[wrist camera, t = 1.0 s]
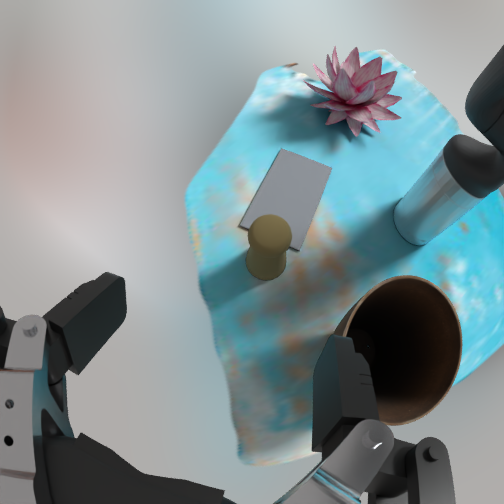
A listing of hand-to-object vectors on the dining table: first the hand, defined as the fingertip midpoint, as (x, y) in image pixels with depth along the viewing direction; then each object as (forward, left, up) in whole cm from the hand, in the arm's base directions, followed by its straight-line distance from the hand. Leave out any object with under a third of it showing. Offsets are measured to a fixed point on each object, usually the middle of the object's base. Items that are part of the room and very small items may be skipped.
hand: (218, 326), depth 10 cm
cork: (-12, -2, -29) cm, 32 cm away
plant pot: (-5, +16, -29) cm, 33 cm away
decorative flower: (-51, +1, -29) cm, 59 cm away
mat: (-25, -3, -29) cm, 38 cm away
